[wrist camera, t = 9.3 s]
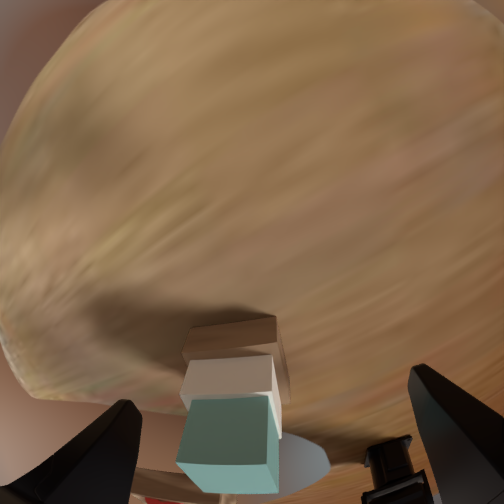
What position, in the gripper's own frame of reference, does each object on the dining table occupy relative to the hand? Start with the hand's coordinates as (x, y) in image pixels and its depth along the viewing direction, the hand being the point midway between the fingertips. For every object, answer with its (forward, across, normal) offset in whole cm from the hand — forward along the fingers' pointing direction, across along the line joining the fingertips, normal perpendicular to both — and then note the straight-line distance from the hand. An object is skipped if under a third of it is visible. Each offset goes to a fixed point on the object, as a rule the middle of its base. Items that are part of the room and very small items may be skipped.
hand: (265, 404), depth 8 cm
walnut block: (+13, +4, +9) cm, 17 cm away
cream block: (+10, +4, +10) cm, 14 cm away
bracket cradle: (+13, +21, +39) cm, 46 cm away
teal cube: (+6, +4, +10) cm, 12 cm away
